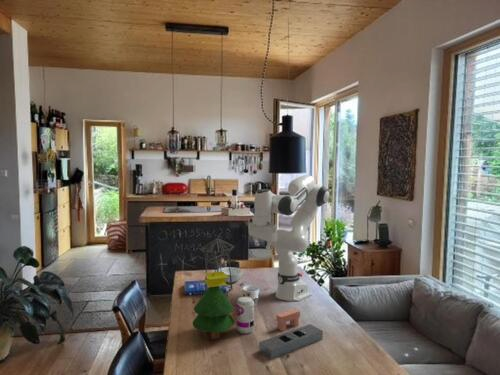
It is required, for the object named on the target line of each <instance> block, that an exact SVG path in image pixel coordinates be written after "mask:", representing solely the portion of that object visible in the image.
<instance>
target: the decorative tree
mask: <svg viewBox="0 0 500 375" xmlns="http://www.w3.org/2000/svg"><path fill="white" fill-rule="evenodd" d="M204 275H205V277H206V276H207V279H206V280H205V279H204V284H205V283H206V284H207V286H208V287H207V290H206V292H205V291H204V293H203V294H202V296H201V297H200V299H199V300H198V302H197V303H196V304H195V306H193V311H194V312H195V314H197V316H196V317H195V318H194V319H193V321H192V323H191V324H192V327H194V328H195V330H198V331H200V332H203V333H205V338H207V339H209V340H215V339H219V338H221V337H222V332H224V331H227V330H229V329H230V328H231V329H232V327H233V326H235V320H234V318H233V317H232V315H231V314H230V313H231V312H233V310H234V305H233V304H232V303H231V301H230V300H229V298H228V297H227V296H226V295H225V294H224V293H225V292H222V288H220V287H222V286H223V287H224V286H228V284H227V283H226V282H224V281H225V280H226V279H227V278H228V276H227V275H226V274H225V273H224V272H223V271H222V272H217V271H216V272H215V271H213V272H207V273H206V272H205V273H204Z"/></svg>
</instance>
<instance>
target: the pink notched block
mask: <svg viewBox="0 0 500 375" xmlns="http://www.w3.org/2000/svg"><path fill="white" fill-rule="evenodd" d="M300 318H301V311H300V310H298V309H296V308H293V309H290V310H287V311H284V312H280V313H278V314H276V315H275V321H276V325H277V327H276V328H277V330H279V331H280V332H284V331H286V330H287V322H289V325H290V326H292V327H294V328H296V327H298V326H299V319H300Z"/></svg>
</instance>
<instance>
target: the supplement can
mask: <svg viewBox="0 0 500 375" xmlns="http://www.w3.org/2000/svg"><path fill="white" fill-rule="evenodd" d="M254 330H255V301H254V299H253V297H250V296H241V297H238V299H237V301H236V331H237V332H239V333H240V334H250V333H252V332H253V331H254Z"/></svg>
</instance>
